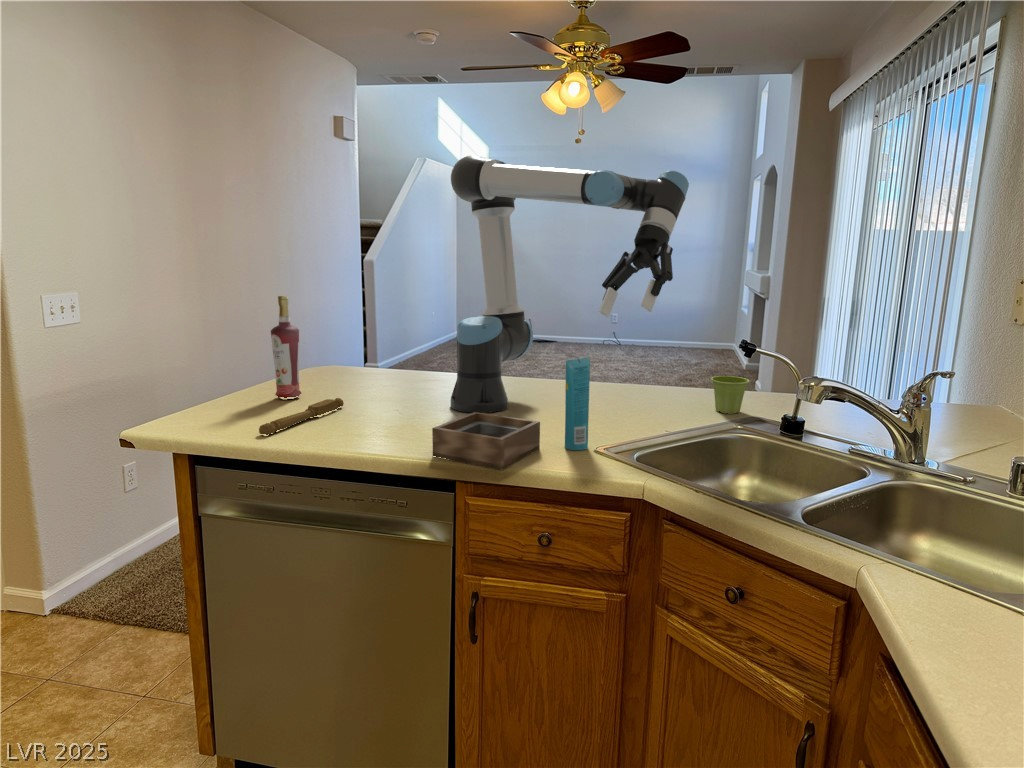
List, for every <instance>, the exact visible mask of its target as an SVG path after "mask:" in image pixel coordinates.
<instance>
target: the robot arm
mask: <svg viewBox="0 0 1024 768" xmlns="http://www.w3.org/2000/svg"><path fill="white" fill-rule="evenodd" d="M450 184H451V187H452V190H453V191H454V193H455V194H456V195H457V197H458V198H460V199H461V200H463V201H465V202H468V203H471V204H470V205H471V213H472V215H473V216H475V218H477V220H478V229H479V239H480V249H481V260H482V271H483V279H484V281H483V282H484V290H485V291H484V292H485V300H486V308H485V310H484V311H483V312H482V314H481V315H479V316H475V317H474V316H472V317H471V316H470V317H467V318H464V319H461V321H459V322H458V324H457V326H456V328H457V329H456V334H455V339H456V381H455V383H454V387H453V390H452V393H451V397H450V408H451V407H452V408H453V410H454V409H455V410H454V411H457V410H459V411H458V412H461V411H463V412H462V413H468V412H470V413H469V414H471V412H472V413H473V412H479V413H486V414H490V413H497V412H501V410H502V411H504V410H506V409H508V407H509V403H508V402H509V400H508V399H509V398H508V395H507V392H506V389H505V386H504V383H503V379H502V363H505V362H508V361H515V360H516V359H519V358H520V357H522V356H524V355H526V353H528V351H529V350H530V348H531V347H532V345H533V342H534V341H533V340H534V333H533V329H532V326H531V324H530V323H529V322H528V321H527V319H526V318H525V311H524V310H525V309H523V308H522V307H521V306H520V305H519V303H518V293H517V292H518V291H517V281H516V279H517V278H516V271H515V270H516V268H515V259H514V257H515V256H514V250H513V237H512V228H511V215H512V214H513V212H514V211H515V209H516V208H515V206H516V205H515V201H516V200H517V199H522V200H523V199H524V200H533V201H534V200H535V201H544V202H555V203H557V202H558V203H565V204H577V205H578V204H579V205H588V206H595V207H596V206H597V207H607V208H612V209H614V210H615V209H616V210H626V211H635V212H637V211H638V212H642V213H644V214H643V216H642V218H641V221H640V223H639V228H638V229H637V232H636V234H635V238H634V241H633V243H634V247H635V248H633V251H632V252H631V253H630V252H628V251H624V252H623V253H622V255H621V257H620V259H619V261H618V262H617V264H615V266H614V268H613V269H612V270H611V271H610V273H609V274H608V276H607V277H606V278H605V280H604V281H603V283H602V284H601V286H602V287H603V288H604V289H605V293H604V295H603V298H602V302H601V304H600V307H599V310H598V313H600V314H601V315H603V316H604V317H606V318H609V317H610V315H611V312H612V310H613V307H614V305H615V302H616V299H617V297H618V295H619V293H618V290H619V289H620V288H621V287H622V286H623V285H624V284H625V283H626V282H627V281H628V280H629V279H630V278H631V276H633V275H634V274H637V273H638V272H639V271H640V270H643V269H650V272H651V273H652V276H651V277H652V279H649V282H648V283H649V284H648V286H647V289H646V291H645V293H644V296H643V299H642V301H641V303H640V306H641V307H642V308H643V309H645V310H646V311H648V312H650V313H651V312H652V311H653V308H654V305H655V303H656V300H657V297H658V296H659V295H660V293H661V290H662V287H663V285H665V283H666V282H667V281H668V282H671V281H673V279H674V276H673V275H674V274H673V265H672V264H673V263H672V254H673V250H674V248H673V247H672V246H671V245H669V241H670V238H671V235H672V233H673V231H674V228H675V225H676V223H677V220H678V217H679V215H680V212H681V210H682V208H683V205H684V203H685V201H686V198H687V193H688V189H689V185H690V183H689V180H688V178H687V177H686V176H685V175H684V174H682V172H679V171H677V170H672V169H670V170H667V171H663V172H662V173H660V174H659V176H658V178H657V179H645V178H637V177H631V176H627V175H623V174H619V173H616V172H614V171H612V170H604V169H602V170H588V169H587V170H585V169H572V168H571V169H570V168H555V167H544V166H543V167H540V166H529V165H528V166H527V165H514V164H508V163H506V162H504V161H503V160H499V159H491V158H488V157H483V156H479V155H466V156H464V157H462V158H460V159H459V160H458V161H456V163H455V164H454V166H453V168H452V169H451V174H450ZM659 258H660V259H659ZM659 261H660V263H659ZM452 408H451V409H452ZM496 411H497V412H496ZM489 412H490V413H489Z"/></svg>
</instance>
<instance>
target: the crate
mask: <svg viewBox="0 0 1024 768" xmlns="http://www.w3.org/2000/svg"><path fill="white" fill-rule="evenodd" d="M431 431H432V434H431V435H432V457H433V456H436V457H441V458H446V459H449V460H448V461H451V460H452V462H456V463H462V464H467V465H474V466H477V467H482V468H487V469H493V470H498V471H503V470H504V469H505V470H506V468H508V467H510V466H512V465H514V464H515V463H517V462H519V461H521V460H522V459H523V460H524V458H526V457H528V456H530V455H532V454H533V452H534V453H535V452H537V451H539V450H540V445H541V444H540V443H541V441H540V439H541V421H539V420H533V419H526V418H520V417H519V418H518V417H511V416H505V415H498V414H493V413H491V414H490V413H479V412H473V413H467V414H466V415H464V416H461V417H457V418H456V419H452V420H451V421H448V422H445V423H442V424H439V425H437V426H434V427H432V430H431ZM436 457H435V458H436ZM441 458H440V459H441ZM446 459H445V460H446Z"/></svg>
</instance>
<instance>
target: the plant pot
mask: <svg viewBox="0 0 1024 768" xmlns="http://www.w3.org/2000/svg"><path fill="white" fill-rule="evenodd" d="M710 380H711V381H712V385H713V392H714V406H715V407H714V408H715V411H716V412H717V411H718V412H719V411H720V413H722V414H724V413H728V414H727V415H733V414H734V413H735V414H739V413H741V407H742V403H743V401H744V400H743V399H744V395H745V392H746V389H747V386H748V383H750V380H749V379H748V378H745V377H740V376H732V375H716V376H712V377H711V378H710ZM718 412H717V413H718Z"/></svg>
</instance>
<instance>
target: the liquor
mask: <svg viewBox="0 0 1024 768" xmlns="http://www.w3.org/2000/svg"><path fill="white" fill-rule="evenodd" d="M289 301H290V300H289V295H277V303H278V307H279V309H278V311H279V313H278V325H275V326H274V327H273V328H271V329H270V338H271V346H272V347H271V348H272V356H273V363H274V364H273V365H274V375H275V384H276V385H275V388H276V392H275V397H277V396H278V397H284V398H287V397H296V396H298V397H300V395H301V394H302V392H301V389H300V329H299V328H298V327H296V326H294V325H292V324H291V318H290V314H289V313H290V312H289V303H290V302H289ZM278 397H277V398H278Z"/></svg>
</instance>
